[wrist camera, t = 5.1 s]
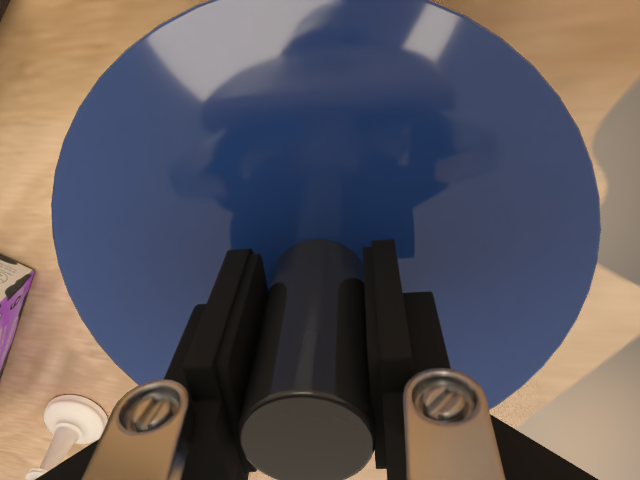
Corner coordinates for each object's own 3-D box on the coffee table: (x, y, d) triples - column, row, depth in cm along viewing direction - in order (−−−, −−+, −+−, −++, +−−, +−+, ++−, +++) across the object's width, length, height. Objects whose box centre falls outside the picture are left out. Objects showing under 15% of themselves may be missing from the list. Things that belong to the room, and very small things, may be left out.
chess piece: (53, 385, 40) (-30, 507, 31) (115, 407, 41) (51, 532, 32) (41, 424, 42) (-40, 548, 33) (99, 444, 43) (36, 570, 34)
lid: (631, -61, 10) (946, -66, 5) (549, 418, 17) (642, 637, 11) (-16, 13, 11) (-336, 74, 6) (149, 432, 18) (66, 634, 13)
